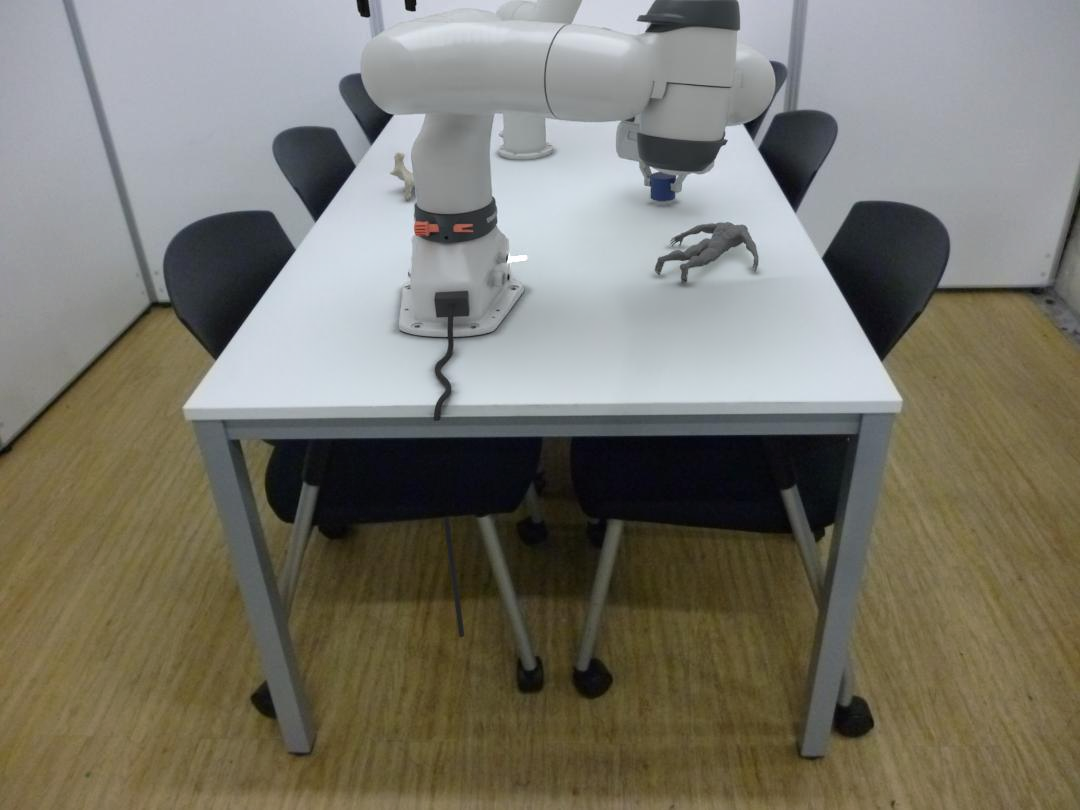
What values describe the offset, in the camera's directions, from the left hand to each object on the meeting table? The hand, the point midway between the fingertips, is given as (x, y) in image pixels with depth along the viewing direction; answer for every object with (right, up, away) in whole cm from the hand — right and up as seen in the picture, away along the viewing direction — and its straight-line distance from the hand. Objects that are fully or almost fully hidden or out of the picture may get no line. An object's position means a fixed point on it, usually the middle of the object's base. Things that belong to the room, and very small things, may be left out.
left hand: (662, 188), depth 158 cm
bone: (-48, +2, +11) cm, 50 cm away
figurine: (+4, -18, -24) cm, 30 cm away
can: (0, -1, +1) cm, 2 cm away
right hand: (-52, +34, +2) cm, 62 cm away
